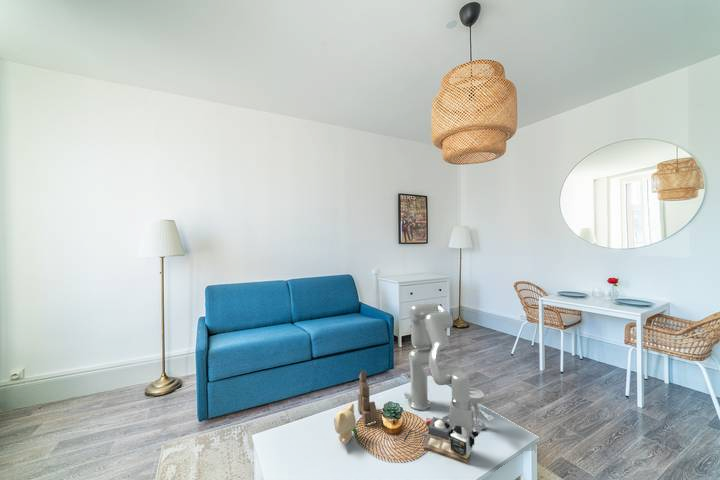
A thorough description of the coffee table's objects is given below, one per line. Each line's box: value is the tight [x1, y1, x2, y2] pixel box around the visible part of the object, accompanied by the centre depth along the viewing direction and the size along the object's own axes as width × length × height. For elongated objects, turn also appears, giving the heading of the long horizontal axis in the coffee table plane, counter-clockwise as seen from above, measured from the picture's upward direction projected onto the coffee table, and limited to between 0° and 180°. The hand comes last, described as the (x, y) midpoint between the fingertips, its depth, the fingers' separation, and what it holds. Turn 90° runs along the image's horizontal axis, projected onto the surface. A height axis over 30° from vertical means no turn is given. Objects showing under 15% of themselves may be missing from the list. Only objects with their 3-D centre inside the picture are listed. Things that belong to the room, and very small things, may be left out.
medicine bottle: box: [449, 426, 473, 459], centre depth 123 cm, size 7×7×12 cm
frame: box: [421, 432, 430, 449], centre depth 133 cm, size 11×11×1 cm
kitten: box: [333, 403, 357, 445], centre depth 134 cm, size 15×10×15 cm
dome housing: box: [428, 416, 450, 441], centre depth 138 cm, size 9×9×4 cm
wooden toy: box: [357, 370, 377, 424], centre depth 151 cm, size 16×7×25 cm, turn 15°
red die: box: [425, 417, 432, 428], centre depth 143 cm, size 3×3×3 cm
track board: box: [425, 434, 470, 465], centre depth 126 cm, size 18×9×1 cm, turn 61°
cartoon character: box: [470, 387, 496, 431], centre depth 141 cm, size 25×12×20 cm, turn 19°
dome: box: [434, 420, 446, 430], centre depth 138 cm, size 5×5×5 cm
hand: (461, 442), depth 123 cm, fingers closed on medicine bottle, 8 cm apart
